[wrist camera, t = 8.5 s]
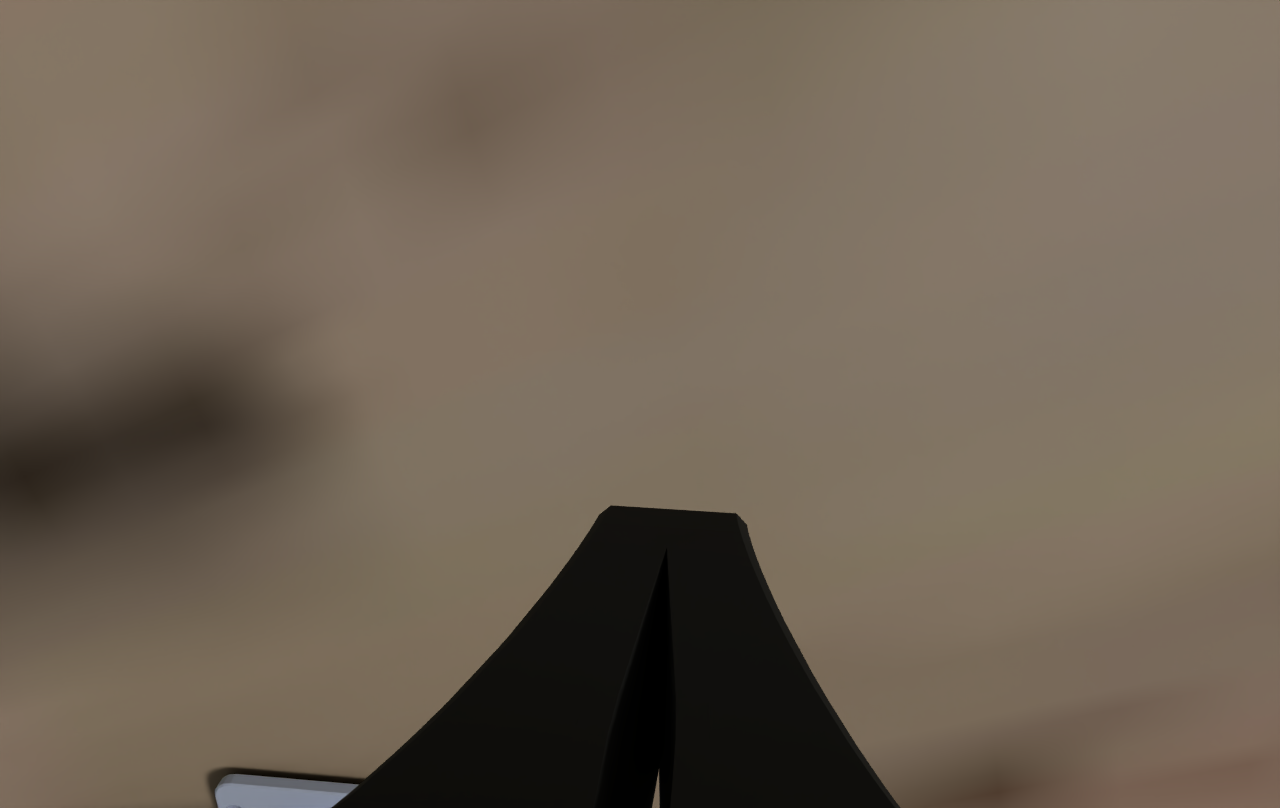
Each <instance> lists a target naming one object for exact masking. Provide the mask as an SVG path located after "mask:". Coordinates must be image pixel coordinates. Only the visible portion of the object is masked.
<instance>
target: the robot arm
mask: <svg viewBox="0 0 1280 808" xmlns="http://www.w3.org/2000/svg"><path fill="white" fill-rule="evenodd" d="M658 771H659V792H660V808H900V807H899V805H898V804H897V803H896V801H895V800H894V799H893V797H892V796H891V795H890V793H889V792H888V790H887V789H886V788H885V786H884V785H883V783H882V782H881V780H880V779H879V778H878V776H877V775H876V773H875V772H874V770H873V769H872V768H871V766H870V765H869V763H868V762H867V760H866V759H865V757H864V756H863V754H862V753H861V751H860V750H859V748H858V747H857V745H856V744H855V742H854V740H853V739H852V737H851V736H850V734H849V733H848V731H847V729H846V728H845V726H844V725H843V723H842V721H841V720H840V718H839V717H838V715H837V713H836V712H835V710H834V709H833V707H832V705H831V704H830V702H829V701H828V699H827V697H826V696H825V694H824V692H823V690H822V689H821V687H820V685H819V684H818V682H817V680H816V678H815V677H814V675H813V673H812V672H811V670H810V668H809V666H808V664H807V662H806V660H805V659H804V657H803V655H802V653H801V651H800V649H799V647H798V645H797V644H796V642H795V640H794V638H793V636H792V634H791V632H790V631H789V629H788V627H787V625H786V623H785V621H784V619H783V617H782V615H781V613H780V611H779V609H778V607H777V605H776V602H775V600H774V598H773V596H772V594H771V591H770V589H769V587H768V585H767V582H766V580H765V578H764V575H763V573H762V571H761V568H760V566H759V563H758V560H757V558H756V555H755V552H754V549H753V546H752V543H751V540H750V537H749V533H748V528H747V524H746V523H745V522H744V521H743V520H742V519H741V518H740V517H739V516H738V515H737V514H736V513H720V512H705V511H689V510H673V509H657V508H641V507H626V506H610V507H608V508H607V509H606V510H605V511H603V512H602V513H601V514H600V515H599V516H598V518H597V519H596V521H595V523H594V524H593V526H592V528H591V529H590V531H589V532H588V534H587V535H586V537H585V538H584V540H583V541H582V543H581V544H580V546H579V547H578V549H577V550H576V551H575V553H574V554H573V556H572V557H571V558H570V560H569V561H568V563H567V564H566V565H565V567H564V568H563V569H562V571H561V572H560V573H559V575H558V576H557V577H556V579H555V580H554V581H553V583H552V584H551V585H550V586H549V588H548V589H547V590H546V591H545V593H544V594H543V595H542V596H541V598H540V599H539V600H538V601H537V602H536V604H535V605H534V606H533V607H532V609H531V610H530V611H529V612H528V613H527V615H526V616H525V617H524V618H523V620H522V621H521V622H520V623H519V624H518V626H517V627H516V628H515V629H514V631H513V632H512V633H511V634H510V635H509V636H508V638H507V639H506V640H505V641H504V642H503V643H502V644H501V646H500V647H499V648H498V649H497V650H496V651H495V652H494V653H493V654H492V655H491V656H490V657H489V658H488V660H487V661H486V662H485V663H484V664H483V665H482V666H481V667H480V668H479V669H478V670H477V671H476V672H475V673H474V674H473V676H472V677H471V678H470V679H469V680H468V681H467V682H466V683H465V684H464V685H463V686H462V687H461V688H460V689H459V691H458V692H457V693H456V694H455V695H454V696H453V697H452V698H451V699H450V700H449V701H448V702H447V703H446V704H445V705H444V706H443V707H442V708H441V709H440V710H439V711H438V712H437V713H436V714H435V715H434V716H433V717H432V718H431V719H430V720H429V721H428V722H427V723H426V724H425V725H424V726H423V727H422V728H421V729H420V730H419V731H418V732H417V733H416V734H415V735H413V736H412V737H411V738H410V739H409V740H408V741H407V742H406V743H405V744H404V745H403V746H402V747H401V748H400V749H398V750H397V751H396V752H395V753H394V754H393V755H392V756H391V757H390V758H388V759H387V760H386V761H385V762H384V763H383V764H382V765H381V766H379V767H378V768H377V769H376V770H375V771H374V772H373V773H372V774H371V775H369V776H368V777H367V778H366V779H365V780H364V781H363V782H362V783H360V784H348V783H336V782H325V781H313V780H302V779H290V778H279V777H267V776H256V775H244V774H228V775H226V776H224V777H223V778H222V779H221V781H220V783H219V784H218V786H217V787H216V789H215V798H216V802H217V805H218V808H652V804H653V799H654V793H655V788H656V782H657V777H658Z"/></svg>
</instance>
